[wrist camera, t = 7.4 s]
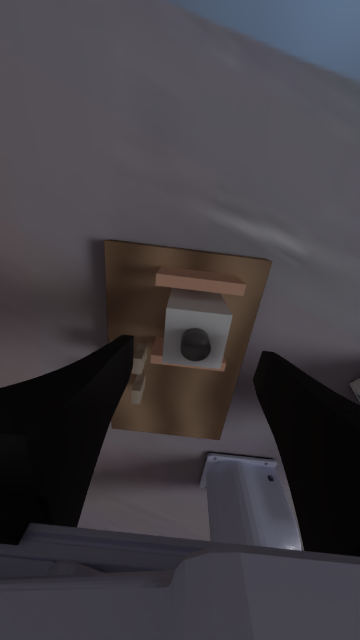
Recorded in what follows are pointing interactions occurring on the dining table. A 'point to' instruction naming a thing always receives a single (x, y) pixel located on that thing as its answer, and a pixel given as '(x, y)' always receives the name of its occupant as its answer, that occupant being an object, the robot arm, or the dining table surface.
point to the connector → (196, 328)
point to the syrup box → (356, 388)
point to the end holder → (199, 283)
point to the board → (149, 321)
